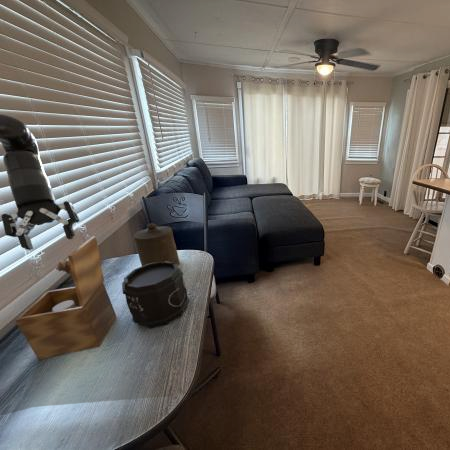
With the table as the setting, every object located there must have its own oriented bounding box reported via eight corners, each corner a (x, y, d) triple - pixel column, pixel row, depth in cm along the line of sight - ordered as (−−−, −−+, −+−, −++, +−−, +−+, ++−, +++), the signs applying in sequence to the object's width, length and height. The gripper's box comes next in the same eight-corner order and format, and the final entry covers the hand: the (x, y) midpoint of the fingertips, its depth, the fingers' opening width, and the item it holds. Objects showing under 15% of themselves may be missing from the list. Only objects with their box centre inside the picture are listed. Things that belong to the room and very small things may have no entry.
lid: (67, 255, 60) (71, 255, 60) (92, 236, 71) (95, 236, 71) (79, 306, 65) (83, 306, 65) (101, 280, 76) (104, 280, 76)
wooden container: (184, 259, 118) (175, 217, 110) (171, 275, 104) (159, 229, 96) (154, 260, 118) (142, 218, 109) (137, 277, 104) (121, 231, 96)
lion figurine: (59, 282, 102) (51, 264, 99) (70, 275, 107) (63, 257, 104) (93, 281, 102) (85, 263, 98) (103, 274, 107) (96, 257, 103)
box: (38, 360, 67) (14, 320, 61) (65, 327, 78) (47, 291, 73) (99, 346, 70) (82, 307, 65) (116, 317, 82) (103, 282, 76)
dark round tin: (192, 289, 95) (184, 255, 89) (188, 321, 79) (178, 281, 73) (141, 300, 90) (129, 264, 84) (125, 336, 74) (109, 294, 68)
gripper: (-16, 190, 59) (4, 251, 58) (58, 178, 66) (77, 233, 65) (6, 199, 66) (24, 254, 65) (71, 187, 72) (88, 237, 71)
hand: (50, 243), depth 65 cm, fingers open, 8 cm apart
